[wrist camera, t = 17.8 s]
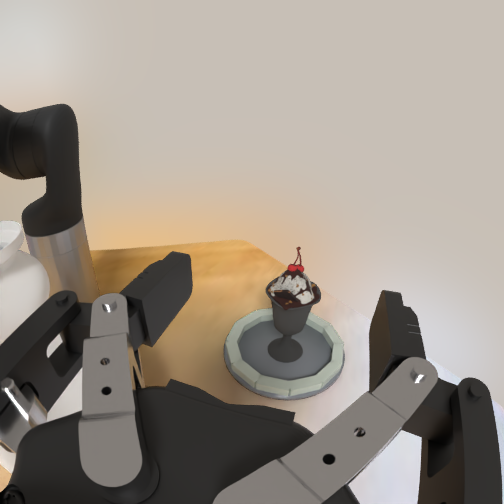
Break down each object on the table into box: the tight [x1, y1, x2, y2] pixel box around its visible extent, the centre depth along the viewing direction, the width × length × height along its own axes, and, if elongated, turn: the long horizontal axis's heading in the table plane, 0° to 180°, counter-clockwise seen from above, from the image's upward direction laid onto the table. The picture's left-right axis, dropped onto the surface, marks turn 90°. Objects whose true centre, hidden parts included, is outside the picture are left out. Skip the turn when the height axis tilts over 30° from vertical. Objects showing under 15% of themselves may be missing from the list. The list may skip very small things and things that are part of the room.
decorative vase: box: [0, 221, 82, 473], centre depth 19 cm, size 18×18×25 cm
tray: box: [224, 308, 345, 400], centre depth 41 cm, size 17×17×2 cm
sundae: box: [266, 247, 321, 363], centre depth 38 cm, size 7×7×15 cm
